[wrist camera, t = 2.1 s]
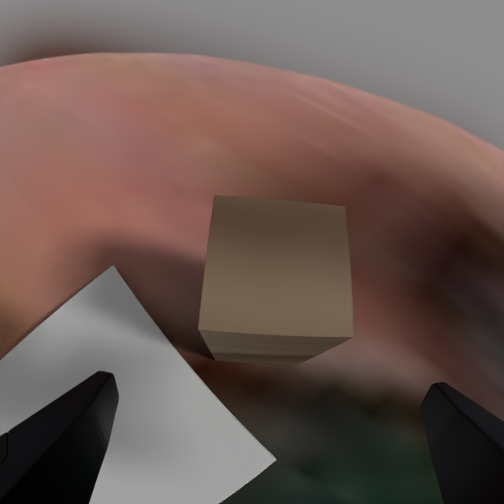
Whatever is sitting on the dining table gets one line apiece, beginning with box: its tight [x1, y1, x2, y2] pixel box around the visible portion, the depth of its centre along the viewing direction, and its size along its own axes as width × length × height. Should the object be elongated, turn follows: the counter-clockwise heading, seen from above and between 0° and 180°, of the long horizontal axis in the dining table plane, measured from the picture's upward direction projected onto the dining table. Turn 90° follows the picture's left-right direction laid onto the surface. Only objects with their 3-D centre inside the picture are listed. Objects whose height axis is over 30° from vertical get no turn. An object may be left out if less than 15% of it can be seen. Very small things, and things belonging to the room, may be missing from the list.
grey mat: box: [0, 265, 276, 504], centre depth 16 cm, size 16×16×1 cm
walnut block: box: [198, 195, 353, 365], centre depth 16 cm, size 5×5×10 cm
